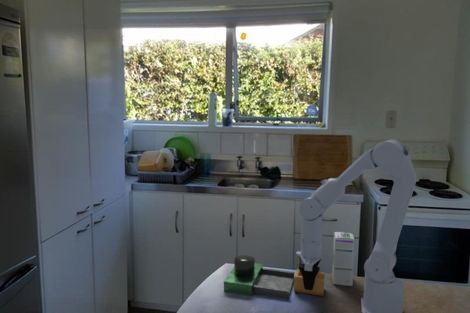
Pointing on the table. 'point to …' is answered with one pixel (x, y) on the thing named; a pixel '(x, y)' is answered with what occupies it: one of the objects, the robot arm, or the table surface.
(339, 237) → the syrup box
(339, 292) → the table surface
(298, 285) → the tan arch block
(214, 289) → the table surface
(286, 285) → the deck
